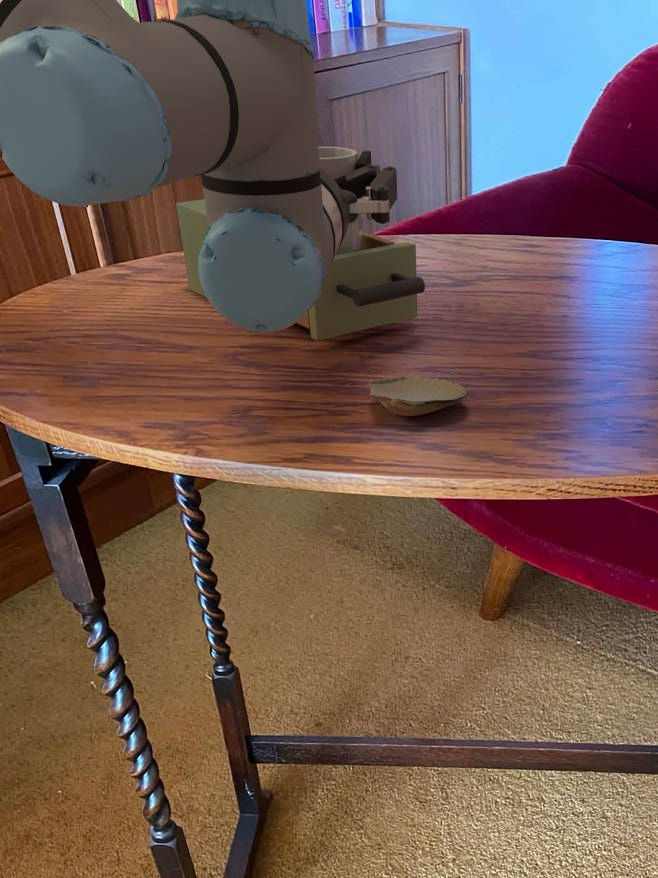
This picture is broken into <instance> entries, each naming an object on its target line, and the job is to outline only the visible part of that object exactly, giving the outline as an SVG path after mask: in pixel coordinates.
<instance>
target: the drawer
mask: <svg viewBox="0 0 658 878" xmlns="http://www.w3.org/2000/svg"><path fill="white" fill-rule="evenodd" d="M361 231H362V241H361V242H362V247H361V248H360V249H359V250H356V251H354V252H350V253H344V254H336V255H335V257H334V260H333V262H332V263H331V265H330V267H329V271H328V273H327V276H326V278H325V281H324V285H323V287H322V290H321V291H322V292H321V294H320V295H319V297H318V300H317V301H315V304H314V305H313V307H312V308H311V309H309V310H308V311H307V312H306V313H305V315H304V316H303V317H302V318H301V319H300V320H299V321H298V322H296V323H295V324H298V325H300V326H301V327H304V328H306V329H308V330H310V338H311V339H313V340H315V341H316V342H319V341H323V340H327V339H328V340H329V339H332V338H336V337H340V336H344V335H348V334H353V333H357V332H361V331H366V330H370V329H373V328H378V327H382V326H386V325H390V324H391V325H392V324H395V323H400V322H403V321H407V320H412V319H416V318H418V294H423V293H424V292H425V290H426V285H425V281H424V279H423V278H422V277H421V276H417V244H416V243H413V242H410V241H405V242H399V243H395V242H394V241H392V240H389V239H386V238H383V237H381V236H378V235H374V234H372V233H369V232H366V231H363V230H361Z"/></svg>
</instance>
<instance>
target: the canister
mask: <svg viewBox="0 0 658 878" xmlns="http://www.w3.org/2000/svg"><path fill="white" fill-rule="evenodd" d="M358 159H359V154H358V151H356V150H355V149H352V148H347V147H341V146H319V162H320V168H321V169H322V170H324V171H325V172H327V173H328V174H329V175H330V174H334V175H346V174H348V173H350V172H352V171H355V170H356V162H357V161H358ZM362 231H363V230H362V214H358V217H357V219H356V220H355V221H354V222H352V223H349V224H348V228H347V231H346V234H345V237H344V239H343V241H342V243H341V246H340V248H339V250H338V252H337V253H336V254H344V253H350V252H354V251H356V250H359V249H360V248H361V247H362V242H361V241H362Z"/></svg>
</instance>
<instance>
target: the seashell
mask: <svg viewBox="0 0 658 878" xmlns="http://www.w3.org/2000/svg"><path fill="white" fill-rule="evenodd" d="M367 384H368V387H369V388H370V391H369V392H370V393H369V395H370V397H373V398H375V399H377V400H378V402H379V403H380V404H381V405H382V406H383V407H384V408H385V409H387V410H388V411H389V412H391V413H393V414H395V415H398V416H402V417H416V416H422V415H427V414H430V413H433V412H436V411H439V410H442V409H444V408H447V407H449V406H451V405H453V404H455V403H458V402H459V401H461V400H463V399H464V398H465V397H467V396H469V390H468V389H467V388H466V387H465V386H462V385H461V384H458V383H457V382H454V381H451V380H449V381H447V380H446V379H439V377H434V378H432V377H421V376H417V377H413V376H407V377H406V376H399V377H396V376H395V377H388V378H387V377H385V378H378V379H373V380H371V381H370V382H369V383H367Z"/></svg>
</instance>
